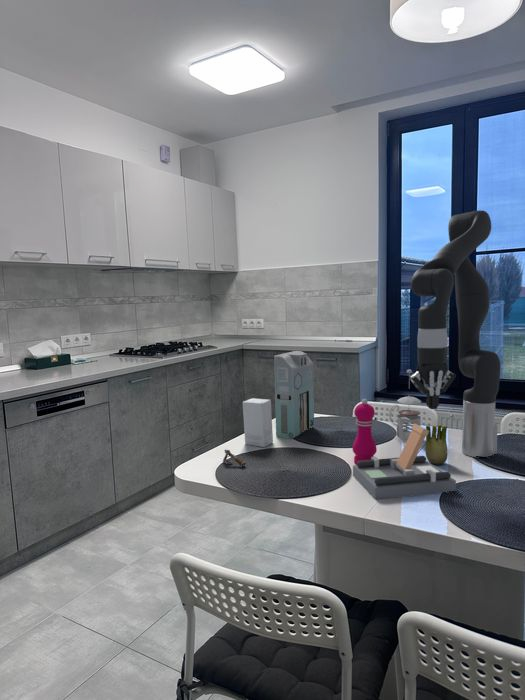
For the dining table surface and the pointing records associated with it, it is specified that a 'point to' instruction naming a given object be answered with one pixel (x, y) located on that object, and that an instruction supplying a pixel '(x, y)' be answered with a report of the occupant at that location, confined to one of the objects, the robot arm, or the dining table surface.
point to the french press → (412, 415)
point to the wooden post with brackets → (232, 458)
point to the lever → (411, 447)
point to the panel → (369, 475)
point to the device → (293, 393)
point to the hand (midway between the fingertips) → (432, 408)
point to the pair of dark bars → (405, 478)
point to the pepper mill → (364, 433)
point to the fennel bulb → (436, 445)
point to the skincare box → (257, 422)
